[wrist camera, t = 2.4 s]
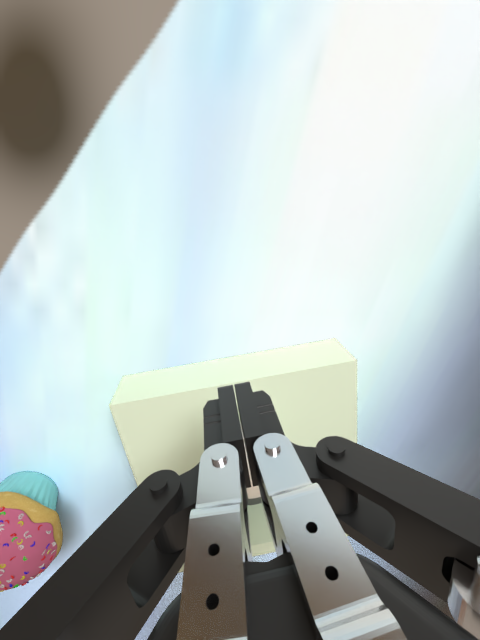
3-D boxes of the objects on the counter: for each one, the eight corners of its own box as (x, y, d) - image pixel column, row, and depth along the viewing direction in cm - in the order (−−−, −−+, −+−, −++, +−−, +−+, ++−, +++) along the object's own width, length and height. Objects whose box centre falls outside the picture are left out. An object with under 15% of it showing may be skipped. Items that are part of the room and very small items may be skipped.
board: (335, 338, 26) (510, 513, 11) (339, 496, 33) (452, 736, 18) (98, 380, 25) (-57, 638, 10) (153, 535, 32) (110, 825, 17)
